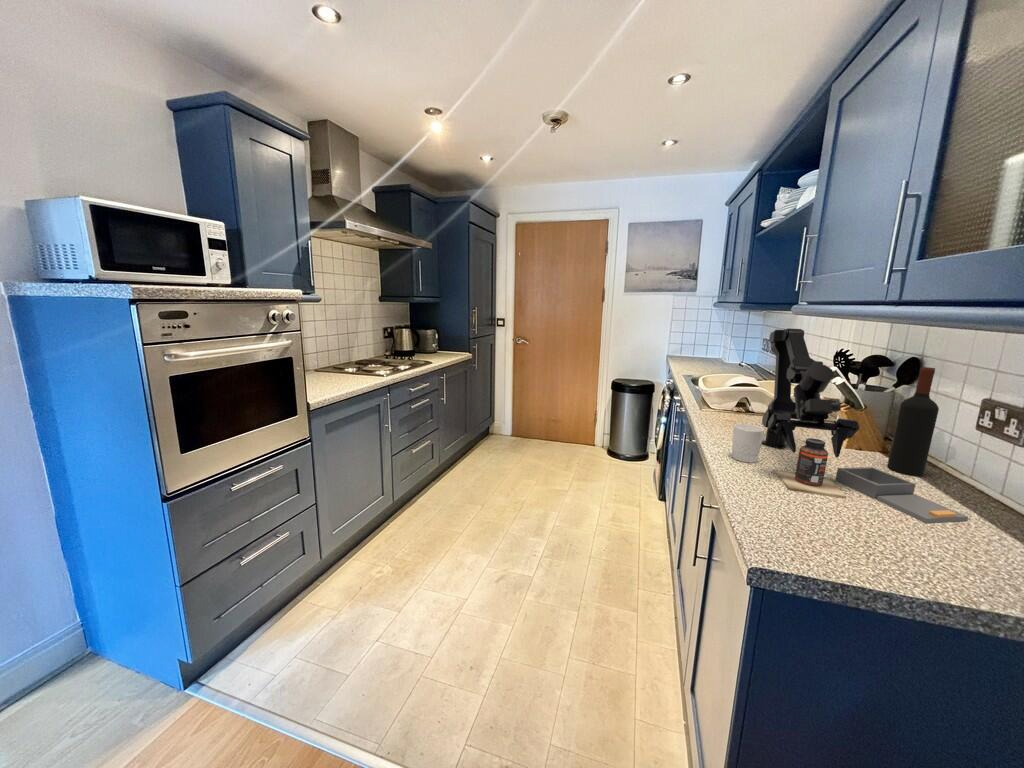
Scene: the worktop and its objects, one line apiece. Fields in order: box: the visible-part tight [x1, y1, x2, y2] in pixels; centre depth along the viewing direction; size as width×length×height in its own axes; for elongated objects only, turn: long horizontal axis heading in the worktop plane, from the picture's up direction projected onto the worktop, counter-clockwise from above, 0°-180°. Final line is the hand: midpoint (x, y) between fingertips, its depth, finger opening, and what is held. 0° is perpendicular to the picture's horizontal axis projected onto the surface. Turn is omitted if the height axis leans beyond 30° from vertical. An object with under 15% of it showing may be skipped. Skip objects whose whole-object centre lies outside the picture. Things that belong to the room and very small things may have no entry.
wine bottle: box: [886, 366, 940, 477], centre depth 113 cm, size 8×8×30 cm
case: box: [835, 466, 969, 524], centre depth 98 cm, size 22×11×4 cm, turn 7°
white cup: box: [731, 423, 765, 464], centre depth 121 cm, size 8×8×10 cm
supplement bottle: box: [794, 437, 829, 486], centre depth 104 cm, size 6×6×11 cm
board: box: [775, 469, 847, 499], centre depth 105 cm, size 12×12×1 cm
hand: (815, 454), depth 102 cm, fingers open, 9 cm apart
